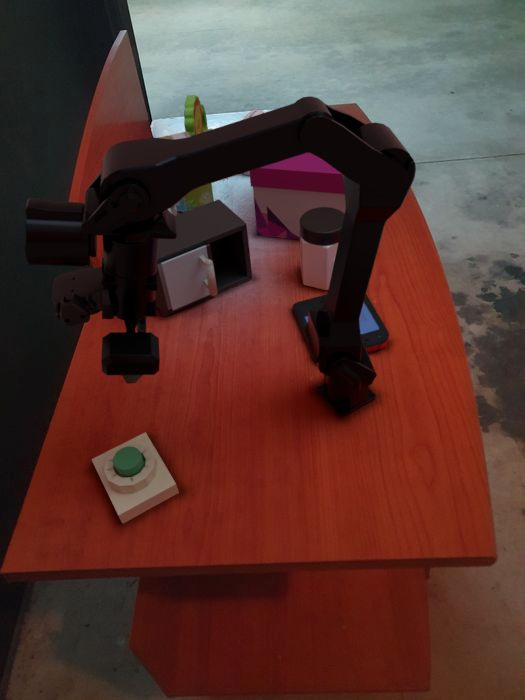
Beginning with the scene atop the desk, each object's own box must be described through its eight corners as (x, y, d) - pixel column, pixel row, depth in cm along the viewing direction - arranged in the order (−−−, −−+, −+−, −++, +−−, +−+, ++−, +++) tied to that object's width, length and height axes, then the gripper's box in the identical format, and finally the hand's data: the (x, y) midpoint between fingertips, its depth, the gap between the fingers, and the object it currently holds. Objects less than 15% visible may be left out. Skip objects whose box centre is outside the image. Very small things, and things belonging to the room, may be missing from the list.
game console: (291, 308, 99) (290, 298, 97) (360, 293, 101) (361, 283, 99) (315, 366, 89) (315, 356, 87) (392, 349, 90) (394, 339, 89)
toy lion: (195, 141, 148) (186, 80, 137) (216, 140, 147) (208, 79, 136) (185, 171, 137) (173, 108, 126) (207, 171, 136) (198, 107, 125)
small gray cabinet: (252, 278, 106) (246, 223, 97) (164, 317, 100) (150, 261, 91) (226, 253, 112) (218, 199, 103) (142, 288, 106) (126, 233, 98)
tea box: (219, 225, 119) (209, 158, 109) (173, 237, 117) (158, 171, 107) (198, 192, 129) (187, 128, 119) (155, 203, 127) (140, 139, 117)
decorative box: (348, 245, 111) (352, 174, 100) (255, 236, 115) (249, 167, 105) (363, 195, 123) (368, 127, 113) (279, 188, 128) (275, 122, 117)
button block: (179, 492, 75) (173, 476, 72) (122, 524, 72) (114, 508, 69) (148, 441, 81) (142, 424, 78) (95, 468, 78) (87, 451, 76)
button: (148, 468, 74) (145, 460, 72) (122, 482, 72) (119, 474, 71) (137, 449, 76) (134, 441, 75) (112, 462, 75) (108, 454, 73)
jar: (317, 296, 101) (317, 239, 92) (290, 274, 106) (288, 218, 97) (356, 277, 104) (360, 220, 95) (328, 256, 109) (329, 200, 100)
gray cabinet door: (227, 301, 100) (220, 254, 92) (181, 321, 97) (170, 274, 90) (216, 290, 102) (209, 243, 95) (171, 309, 99) (160, 262, 92)
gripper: (59, 207, 67) (70, 303, 78) (45, 322, 55) (59, 415, 66) (156, 212, 69) (152, 304, 81) (162, 323, 57) (157, 413, 69)
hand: (130, 354), depth 74 cm, fingers open, 9 cm apart
